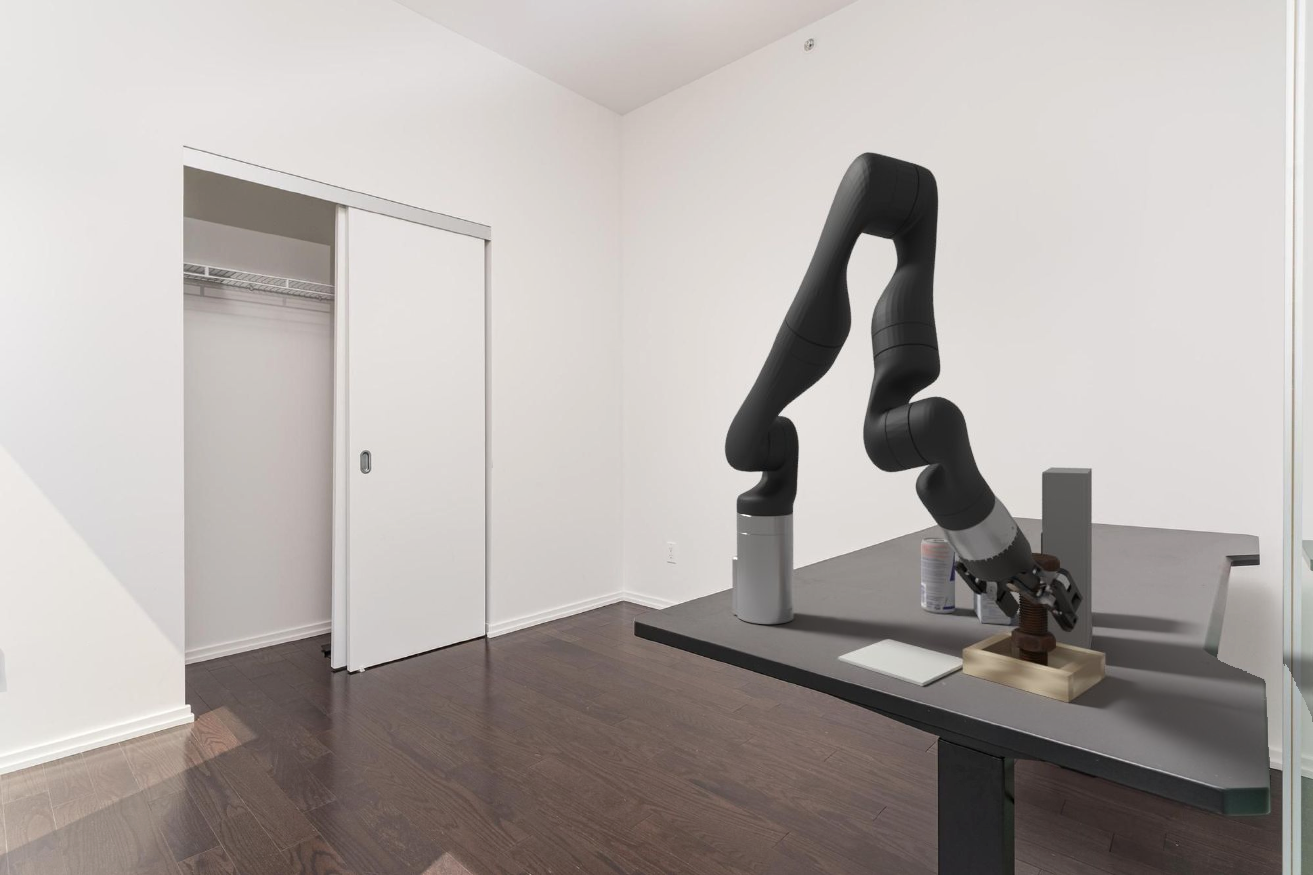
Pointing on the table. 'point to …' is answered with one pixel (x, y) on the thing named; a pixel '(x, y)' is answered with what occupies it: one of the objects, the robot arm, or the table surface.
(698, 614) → the table surface
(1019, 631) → the bolt
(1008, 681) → the wooden frame
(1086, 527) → the cassette tape recorder
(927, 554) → the energy drink
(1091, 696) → the table surface
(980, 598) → the medicine box
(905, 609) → the table surface
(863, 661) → the pad
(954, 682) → the table surface
